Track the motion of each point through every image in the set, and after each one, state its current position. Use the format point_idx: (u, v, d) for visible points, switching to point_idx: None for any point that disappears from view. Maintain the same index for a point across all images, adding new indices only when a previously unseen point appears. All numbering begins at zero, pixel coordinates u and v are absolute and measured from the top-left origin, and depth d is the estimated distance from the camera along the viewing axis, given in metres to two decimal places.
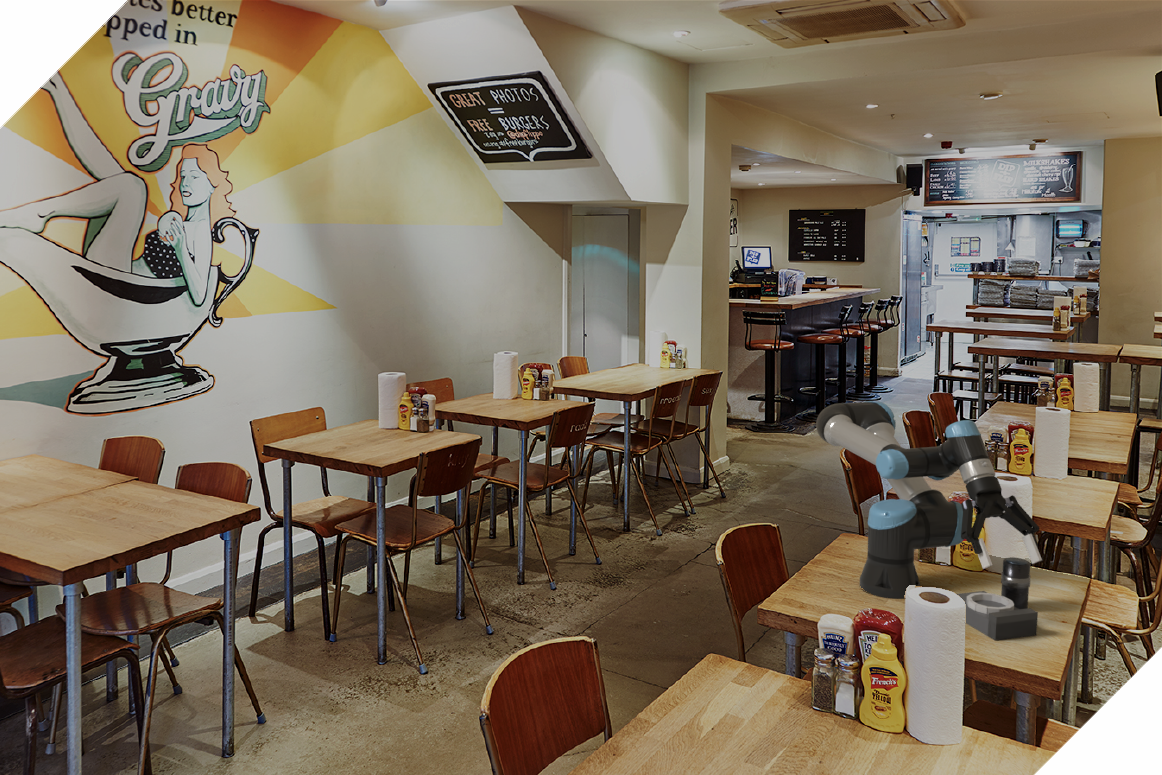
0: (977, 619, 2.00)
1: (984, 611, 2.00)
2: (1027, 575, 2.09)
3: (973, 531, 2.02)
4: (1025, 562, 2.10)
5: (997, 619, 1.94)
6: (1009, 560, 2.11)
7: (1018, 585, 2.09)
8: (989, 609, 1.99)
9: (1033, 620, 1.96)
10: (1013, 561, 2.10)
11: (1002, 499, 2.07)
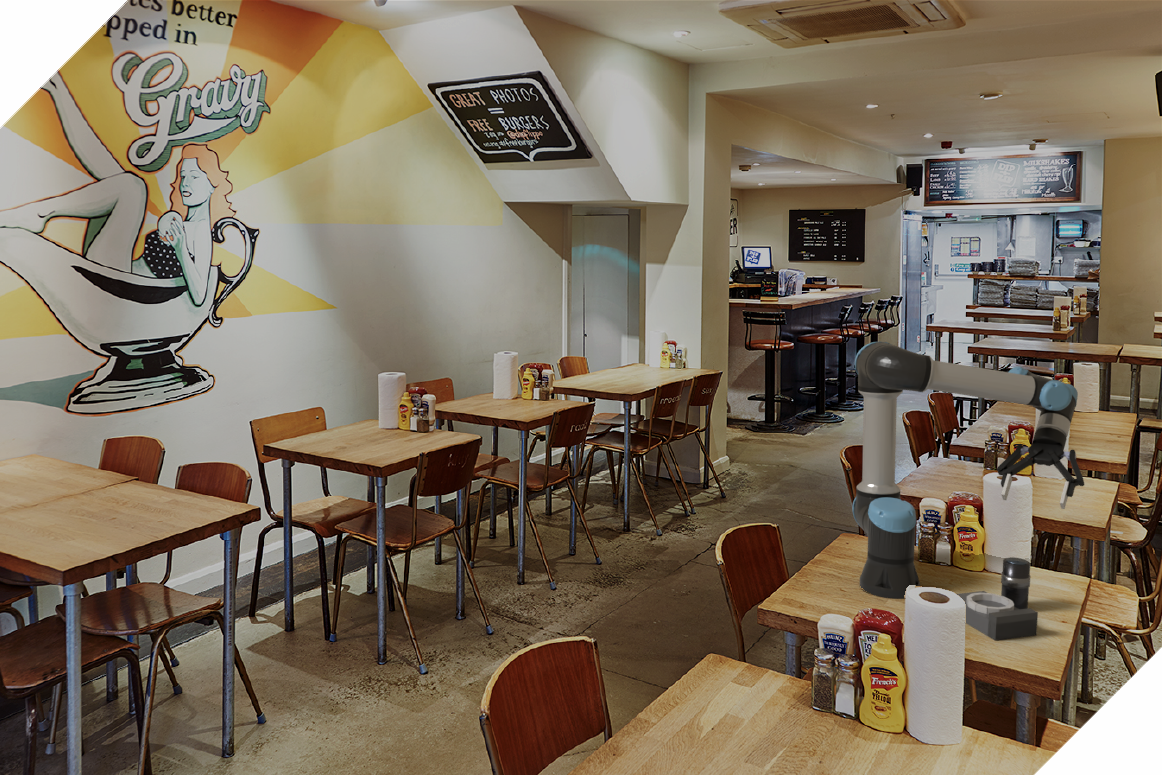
0: (977, 619, 2.00)
1: (984, 611, 2.00)
2: (1027, 575, 2.09)
3: None
4: (1025, 562, 2.10)
5: (997, 619, 1.94)
6: (1009, 560, 2.11)
7: (1018, 585, 2.09)
8: (989, 609, 1.99)
9: (1033, 620, 1.96)
10: (1013, 561, 2.10)
11: None
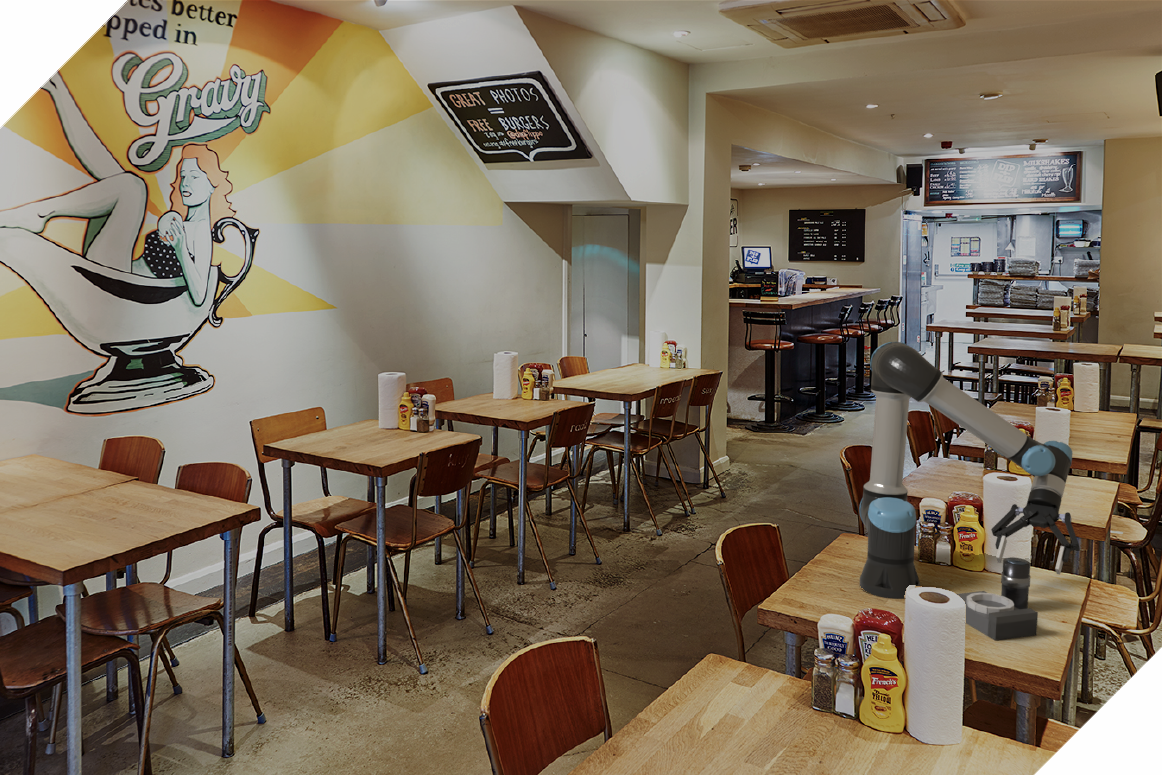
0: (977, 619, 2.00)
1: (984, 611, 2.00)
2: (1027, 575, 2.09)
3: None
4: (1025, 562, 2.10)
5: (997, 619, 1.94)
6: (1009, 560, 2.11)
7: (1018, 585, 2.09)
8: (989, 609, 1.99)
9: (1033, 620, 1.96)
10: (1013, 561, 2.10)
11: None
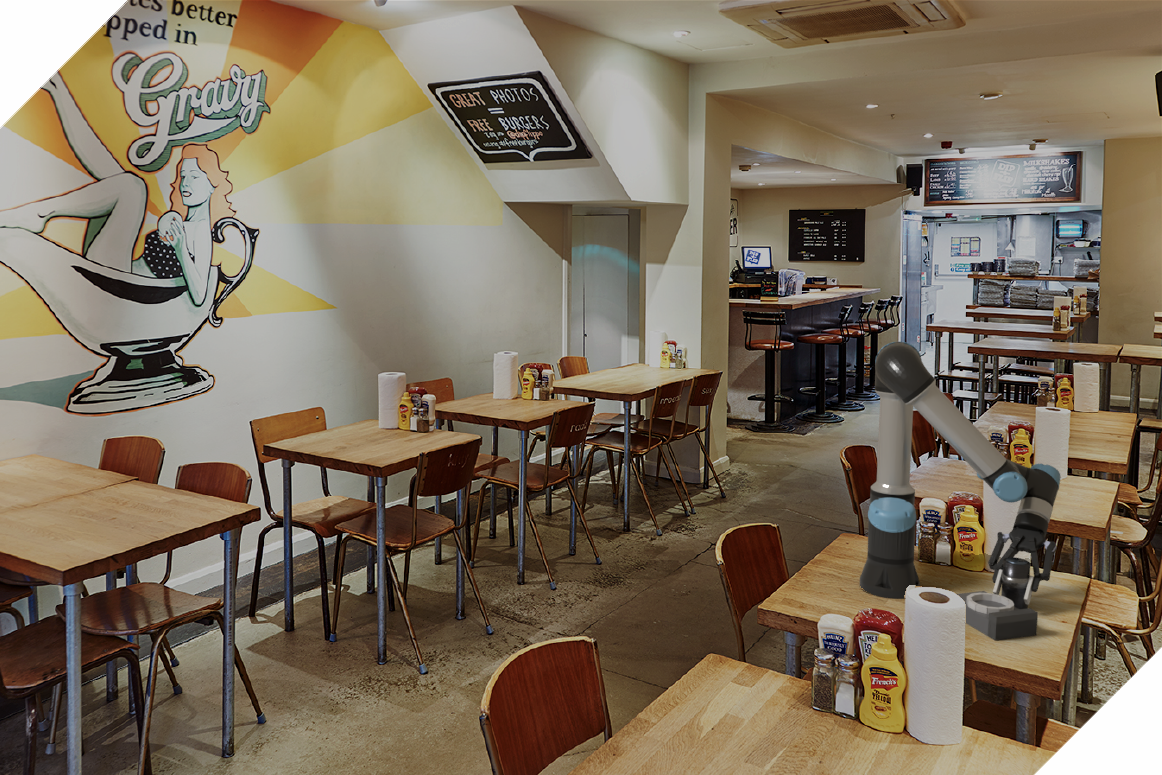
0: (977, 619, 2.00)
1: (984, 611, 2.00)
2: (1027, 575, 2.09)
3: (1039, 572, 2.10)
4: (1025, 562, 2.10)
5: (997, 619, 1.94)
6: (1009, 560, 2.11)
7: (1018, 585, 2.09)
8: (989, 609, 1.99)
9: (1033, 620, 1.96)
10: (1013, 561, 2.10)
11: None
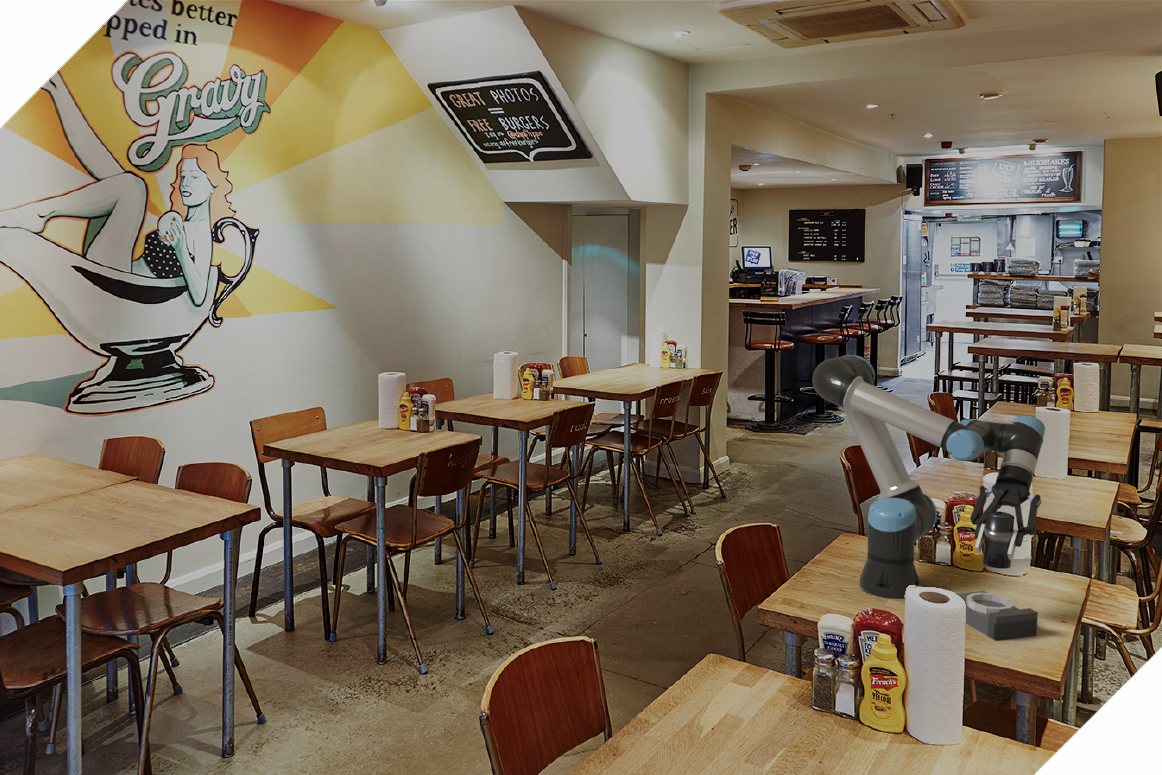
0: (977, 619, 2.00)
1: (984, 611, 2.00)
2: (1011, 529, 1.99)
3: (1023, 526, 2.01)
4: (1009, 516, 2.00)
5: (997, 619, 1.94)
6: (992, 514, 2.01)
7: (1002, 539, 1.99)
8: (989, 609, 1.99)
9: (1033, 620, 1.96)
10: (996, 515, 2.01)
11: None
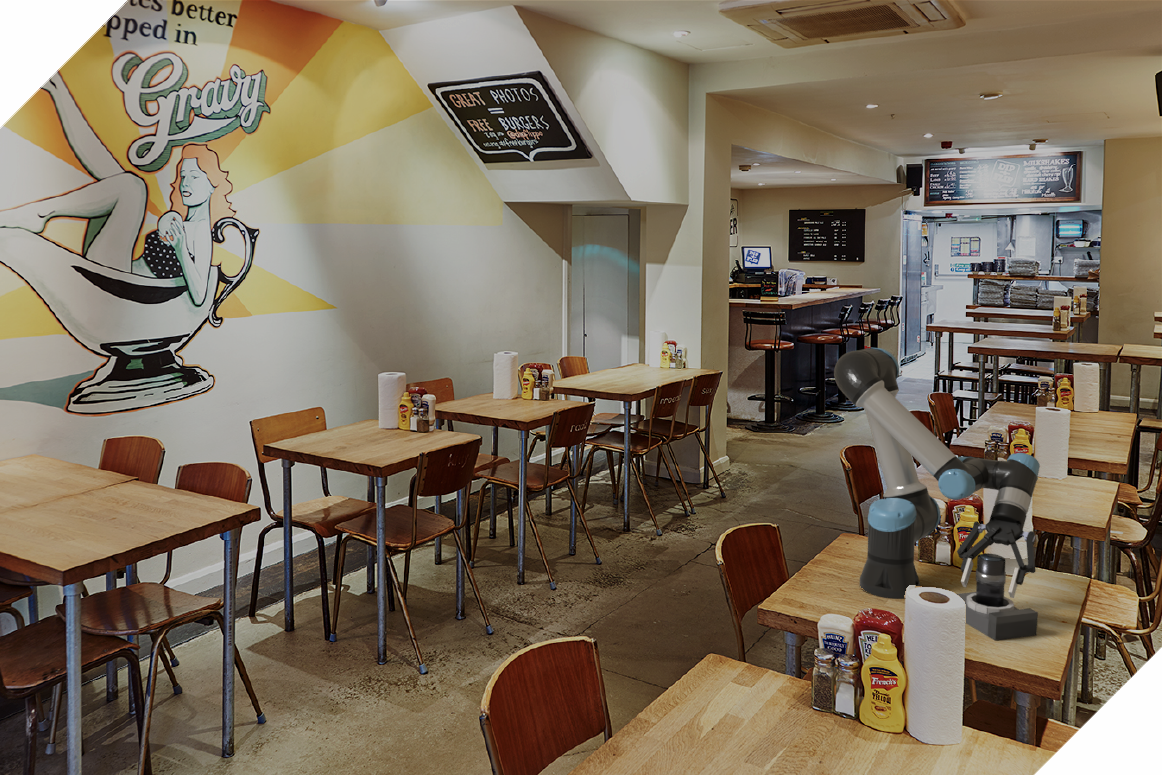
0: (977, 619, 2.00)
1: (984, 611, 2.00)
2: (1002, 572, 2.00)
3: None
4: (1000, 558, 2.01)
5: (997, 619, 1.94)
6: (983, 556, 2.02)
7: (993, 582, 2.00)
8: (989, 609, 1.99)
9: (1033, 620, 1.96)
10: (987, 557, 2.01)
11: None
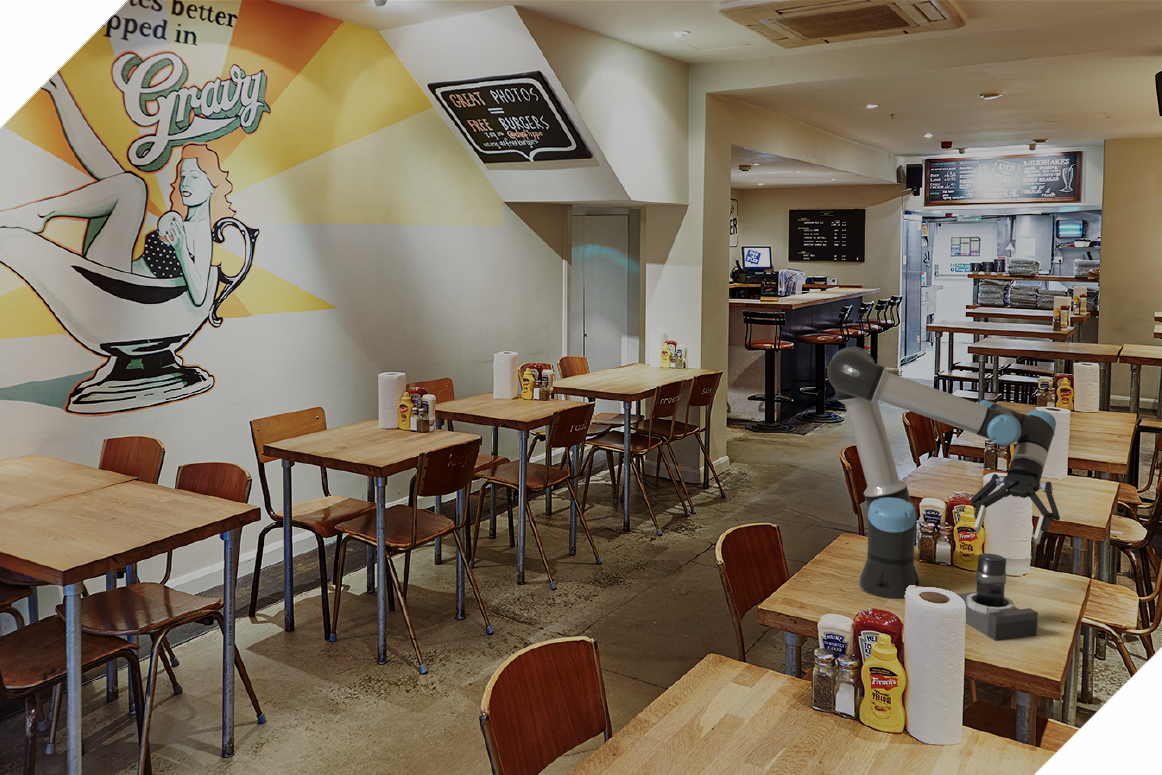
0: (977, 619, 2.00)
1: (984, 611, 2.00)
2: (1003, 572, 2.00)
3: None
4: (1001, 558, 2.01)
5: (997, 619, 1.94)
6: (984, 556, 2.02)
7: (993, 582, 2.00)
8: (989, 609, 1.99)
9: (1033, 620, 1.96)
10: (988, 557, 2.02)
11: None
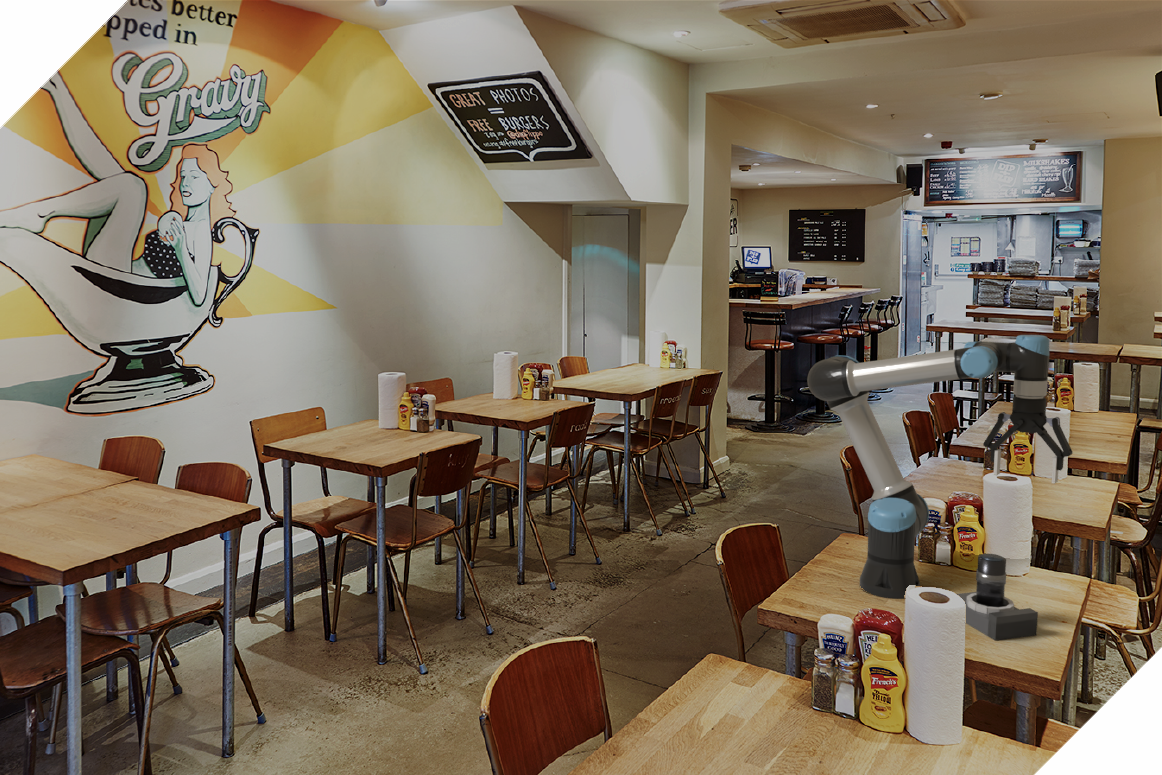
0: (977, 619, 2.00)
1: (984, 611, 2.00)
2: (1003, 572, 2.00)
3: (1059, 448, 2.12)
4: (1001, 558, 2.01)
5: (997, 619, 1.94)
6: (984, 556, 2.02)
7: (993, 582, 2.00)
8: (989, 609, 1.99)
9: (1033, 620, 1.96)
10: (988, 557, 2.02)
11: None
